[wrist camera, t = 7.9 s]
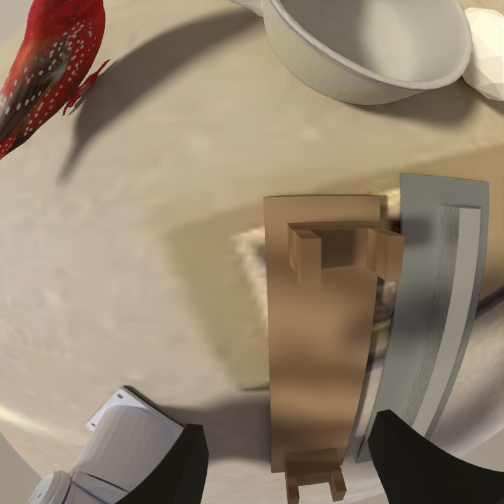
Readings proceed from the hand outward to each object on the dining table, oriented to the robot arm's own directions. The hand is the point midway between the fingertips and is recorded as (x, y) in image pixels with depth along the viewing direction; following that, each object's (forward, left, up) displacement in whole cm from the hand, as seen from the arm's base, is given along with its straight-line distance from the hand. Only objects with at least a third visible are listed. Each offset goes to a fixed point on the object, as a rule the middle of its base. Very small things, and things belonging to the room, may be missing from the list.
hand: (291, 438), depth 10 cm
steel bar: (+7, -12, -9) cm, 16 cm away
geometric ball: (+27, +2, -10) cm, 28 cm away
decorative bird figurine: (+2, +22, -10) cm, 24 cm away
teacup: (+17, +11, -10) cm, 22 cm away
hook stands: (0, -5, -9) cm, 10 cm away
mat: (+7, -12, -9) cm, 16 cm away
